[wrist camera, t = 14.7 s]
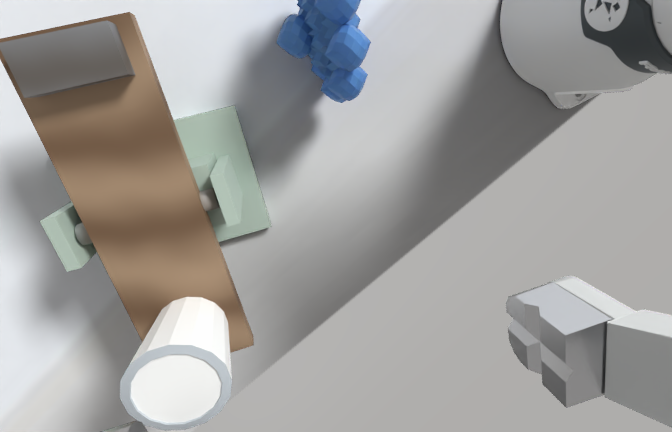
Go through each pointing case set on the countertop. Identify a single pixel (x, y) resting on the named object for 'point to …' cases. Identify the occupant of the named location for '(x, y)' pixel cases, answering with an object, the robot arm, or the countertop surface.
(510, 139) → the countertop surface
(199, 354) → the white cup
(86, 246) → the pivot stand
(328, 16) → the grapes
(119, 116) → the seesaw beam
